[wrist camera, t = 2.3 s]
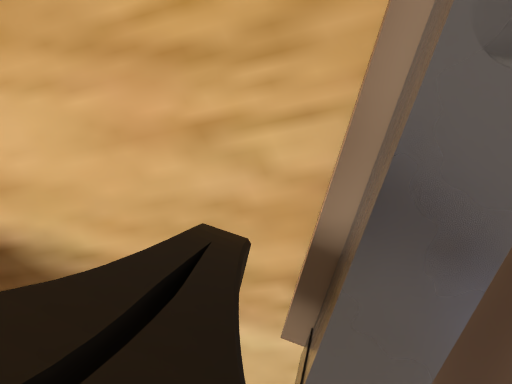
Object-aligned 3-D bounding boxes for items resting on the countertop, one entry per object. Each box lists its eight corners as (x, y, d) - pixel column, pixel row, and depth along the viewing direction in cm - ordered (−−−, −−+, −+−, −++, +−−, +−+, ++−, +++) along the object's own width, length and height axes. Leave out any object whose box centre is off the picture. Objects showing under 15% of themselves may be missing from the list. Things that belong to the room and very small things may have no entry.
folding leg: (457, -69, 8) (492, -108, 5) (601, -40, 7) (705, -70, 5) (300, 357, 12) (284, 430, 10) (382, 387, 12) (384, 471, 10)
